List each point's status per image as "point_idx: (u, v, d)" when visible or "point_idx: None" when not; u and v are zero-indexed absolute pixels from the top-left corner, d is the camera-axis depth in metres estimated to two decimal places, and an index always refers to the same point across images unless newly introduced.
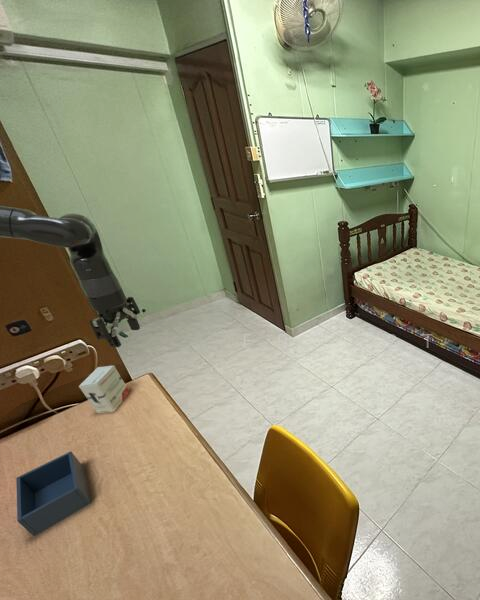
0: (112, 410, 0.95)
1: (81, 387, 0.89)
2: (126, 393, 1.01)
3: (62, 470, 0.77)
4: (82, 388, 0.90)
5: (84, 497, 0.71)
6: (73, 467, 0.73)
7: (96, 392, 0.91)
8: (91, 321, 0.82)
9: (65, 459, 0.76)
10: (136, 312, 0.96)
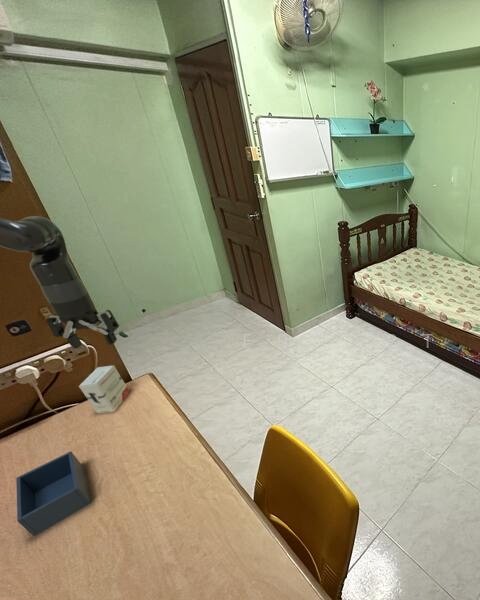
0: (112, 410, 0.95)
1: (81, 387, 0.89)
2: (126, 393, 1.01)
3: (62, 470, 0.77)
4: (82, 388, 0.90)
5: (84, 497, 0.71)
6: (73, 467, 0.73)
7: (96, 392, 0.91)
8: None
9: (65, 459, 0.76)
10: None
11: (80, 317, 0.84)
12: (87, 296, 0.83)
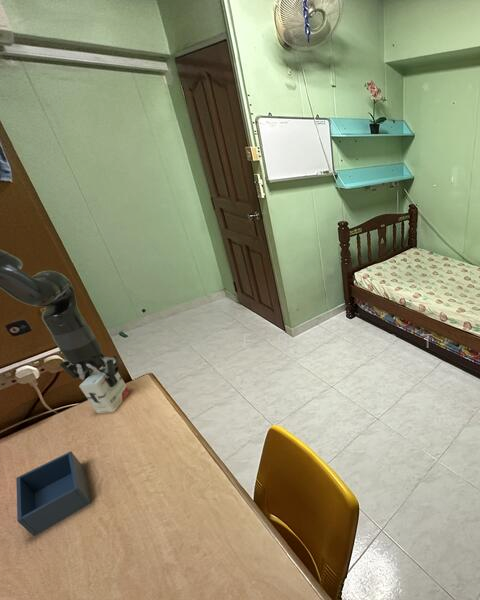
0: (112, 410, 0.95)
1: (81, 387, 0.89)
2: (126, 393, 1.01)
3: (62, 470, 0.77)
4: (82, 388, 0.90)
5: (84, 497, 0.71)
6: (73, 467, 0.73)
7: (96, 392, 0.91)
8: None
9: (65, 459, 0.76)
10: None
11: (87, 360, 0.89)
12: (94, 341, 0.88)
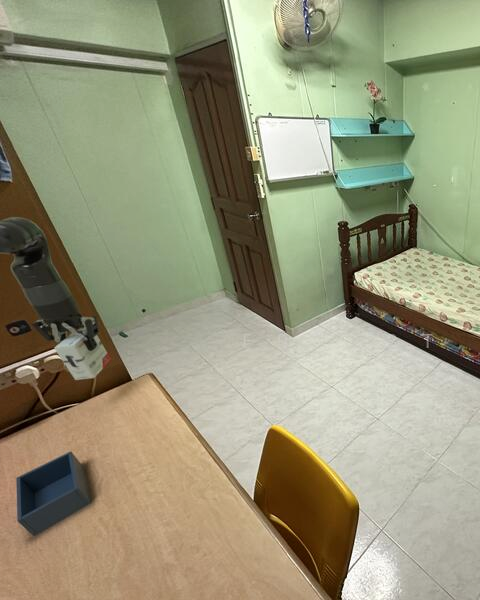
0: (92, 376, 0.88)
1: (57, 349, 0.83)
2: (106, 360, 0.94)
3: (62, 470, 0.77)
4: (58, 350, 0.83)
5: (84, 497, 0.71)
6: (73, 467, 0.73)
7: (73, 355, 0.84)
8: None
9: (65, 459, 0.76)
10: None
11: (63, 320, 0.82)
12: (70, 299, 0.82)
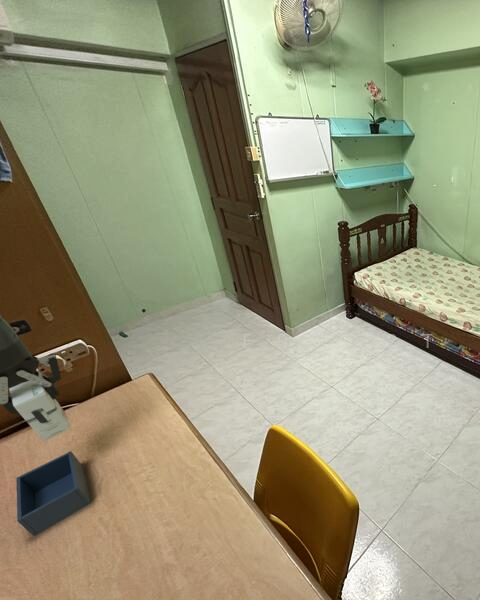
0: (69, 426, 0.73)
1: (19, 406, 0.65)
2: (63, 411, 0.77)
3: (62, 470, 0.77)
4: (20, 407, 0.66)
5: (84, 497, 0.71)
6: (73, 467, 0.73)
7: (44, 406, 0.69)
8: None
9: (65, 459, 0.76)
10: (53, 378, 0.71)
11: (15, 368, 0.65)
12: (19, 339, 0.66)
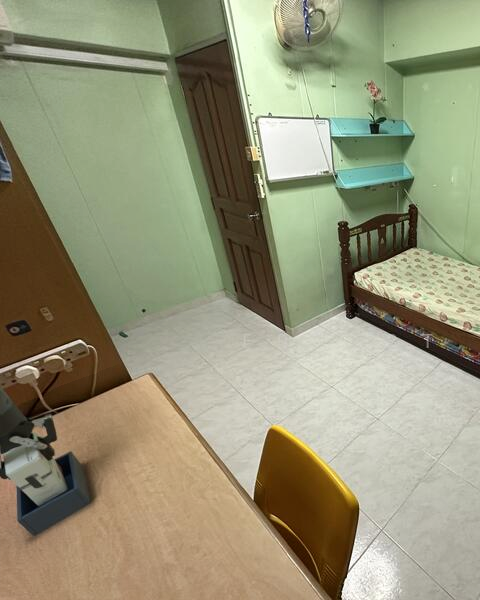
0: (64, 488, 0.70)
1: (12, 474, 0.62)
2: (60, 468, 0.73)
3: (62, 470, 0.77)
4: (13, 475, 0.62)
5: (84, 497, 0.71)
6: (73, 467, 0.73)
7: (38, 471, 0.65)
8: None
9: (65, 459, 0.76)
10: (48, 440, 0.67)
11: (9, 434, 0.62)
12: (13, 403, 0.62)
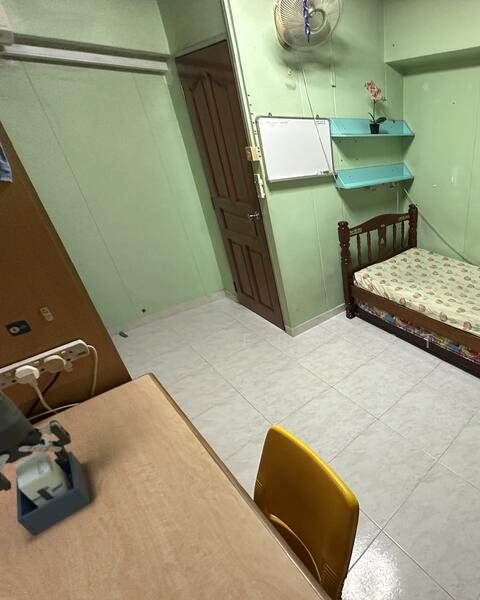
0: None
1: (24, 487, 0.64)
2: (69, 480, 0.76)
3: None
4: (26, 488, 0.64)
5: (84, 497, 0.71)
6: (73, 467, 0.73)
7: (49, 483, 0.67)
8: None
9: None
10: (63, 442, 0.69)
11: (17, 444, 0.63)
12: (22, 413, 0.64)
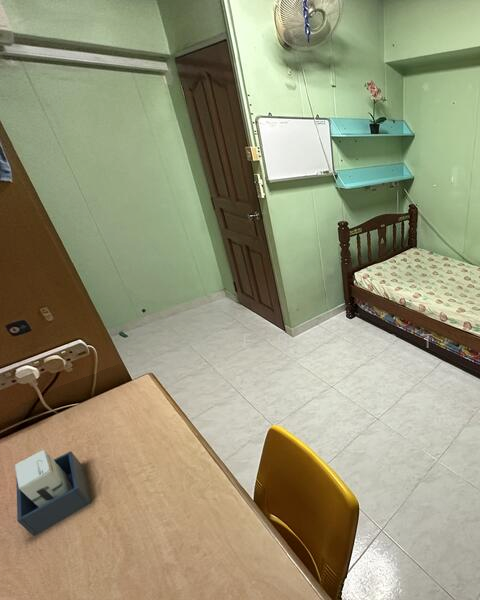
0: None
1: (24, 488, 0.64)
2: (69, 480, 0.76)
3: None
4: (26, 488, 0.64)
5: (84, 497, 0.71)
6: (73, 467, 0.73)
7: (49, 483, 0.67)
8: None
9: (65, 459, 0.76)
10: None
11: None
12: None
